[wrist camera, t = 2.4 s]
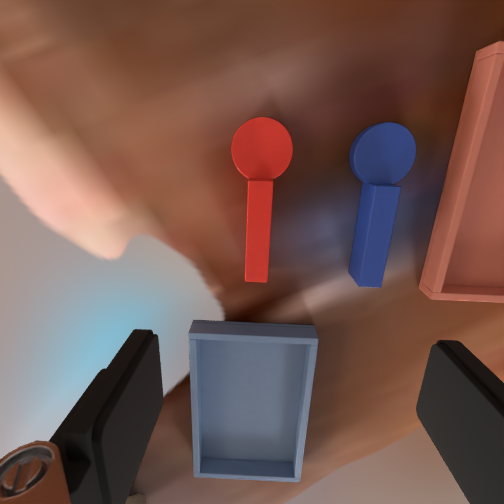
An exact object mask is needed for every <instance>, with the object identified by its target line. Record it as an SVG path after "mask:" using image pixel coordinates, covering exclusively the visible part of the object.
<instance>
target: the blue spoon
mask: <svg viewBox="0 0 504 504" xmlns="http://www.w3.org/2000/svg"><path fill="white" fill-rule="evenodd" d="M415 157H416V143H415V140H414V137H413V135H412V134H411V132H410V131H409V130H408V129H407V128H406V127H404V126H403V125H401V124H398V123H395V122H384V123H379V124H375V125H372V126H369V127H368V128H366V129H364V130H363V131H362V132H361V133H360V134H359V135H358V136H357V137H356V138H355V140H354V142H353V144H352V146H351V149H350V154H349V162H350V167H351V170H352V172H353V173H354V175H355V176H356V177H357V178H358V179H359V180H361V181H362V182H363V183H362V189H361V195H360V202H359V208H358V215H357V221H356V227H355V234H354V240H353V247H352V253H351V259H350V266H349V274H350V275H351V276H352V278H353V279H354V281H355V282H356V283H357V285H358V286H359V287H379V288H381V286H382V281H383V276H384V270H385V265H386V260H387V255H388V250H389V245H390V240H391V235H392V230H393V225H394V220H395V215H396V210H397V205H398V200H399V195H400V190H401V187H400V186H397V185H393V184H394V183H396V182H398V181H399V180H401V179H402V178H403V177H404V176H405V175H406V174H407V173H408V172H409V170H410V169H411V167H412V165H413V163H414V160H415Z"/></svg>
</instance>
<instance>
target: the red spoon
mask: <svg viewBox="0 0 504 504" xmlns="http://www.w3.org/2000/svg"><path fill="white" fill-rule="evenodd" d="M292 153H293V145H292V140H291V137H290V134H289V133H288V131H287V129H286V128H285V127H284V126H283V125H282V124H281V123H280V122H278V121H276V120H274V119H272V118H268V117H257V118H253V119H251V120H249V121H247V122H245V123H244V124H243V125H242V126H241V127H240V128H239V129H238V131H237V132H236V134H235V136H234V138H233V142H232V158H233V161H234V163H235V165H236V167H237V169H238V170H239V171H240V172H241V173H242V174H243V175H244V176H245V177H247V178H249V180H248V201H247V231H246V261H245V281H247V282H267V281H268V265H269V248H270V232H271V215H272V199H273V179H275V178H277V177H278V176H280V175H281V174H282V173H283V172H284V171H285V170H286V169H287V167H288V165H289V164H290V161H291V158H292Z"/></svg>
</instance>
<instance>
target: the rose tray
mask: <svg viewBox="0 0 504 504" xmlns="http://www.w3.org/2000/svg"><path fill="white" fill-rule="evenodd" d="M419 289H420V290H421V291H422V292H423V293H425V294H426V295H427V296H428V297H429V298H430V299H434V300H456V301H479V302H501V303H504V41H498V42H496V43H494V44H492V45H489V46H487V47H485V48H482V49H480V50H478V51H476V54H475V58H474V63H473V67H472V71H471V75H470V79H469V83H468V87H467V91H466V95H465V99H464V104H463V108H462V112H461V116H460V120H459V124H458V128H457V132H456V136H455V140H454V145H453V149H452V153H451V157H450V161H449V165H448V169H447V173H446V177H445V181H444V186H443V190H442V194H441V198H440V202H439V206H438V210H437V214H436V218H435V222H434V227H433V231H432V235H431V239H430V243H429V247H428V251H427V255H426V259H425V263H424V268H423V272H422V276H421V280H420V284H419Z"/></svg>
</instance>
